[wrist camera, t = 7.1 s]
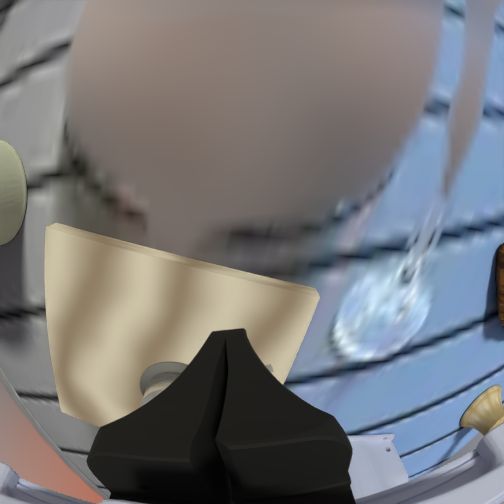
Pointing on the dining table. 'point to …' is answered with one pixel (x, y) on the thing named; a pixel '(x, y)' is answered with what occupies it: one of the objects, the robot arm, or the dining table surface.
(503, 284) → the croissant
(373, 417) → the dining table surface
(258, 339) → the base plate
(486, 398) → the hand bell
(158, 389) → the wooden handled dome
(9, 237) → the can
